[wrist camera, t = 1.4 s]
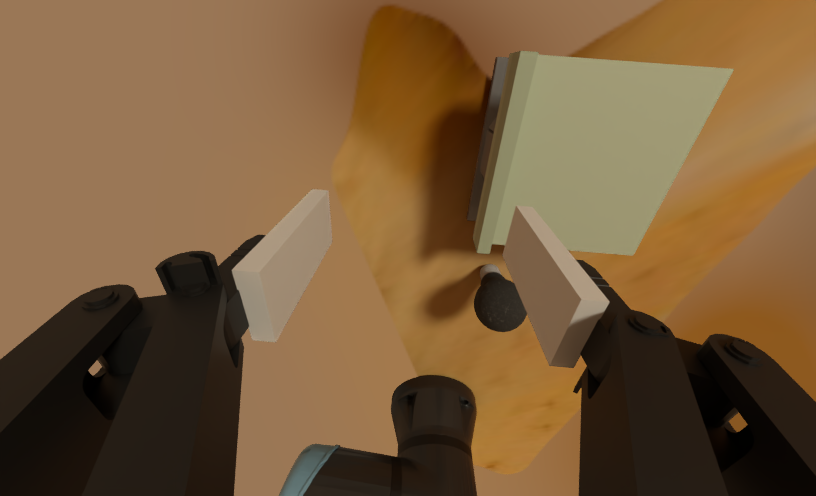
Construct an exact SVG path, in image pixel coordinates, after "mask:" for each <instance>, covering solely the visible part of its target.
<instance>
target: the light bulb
mask: <svg viewBox="0 0 816 496" xmlns="http://www.w3.org/2000/svg"><path fill="white" fill-rule="evenodd" d="M480 277H481V286H480V287H479V289H478V290H477V292H476V295H475V299H474V309H475V312H476V315H477V317H478V319H479V320H480V321H481V322H482V324H483V325H485V326H486V327H487V328H489V329H491V330H494V331H498V332H506V331H511V330H513V329H515V328H517V327H518V326H519V325H520V324H521V323H522V322H523V321H524V319H525V317H526V315H527V312H526V310H525V307H524V305H523V303H522V300H521V298H520V296H519V293H518V291H517V289H516V286H515V284H514V283H513V282H511V281H509V280H506V279H505V278H504V277H503V276H502V275H501V273H500V271H499V269H498V267H497V266H495V265H493V264H488V265H485V266H483V267H482V268H481V270H480Z"/></svg>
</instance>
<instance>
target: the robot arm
mask: <svg viewBox="0 0 816 496" xmlns="http://www.w3.org/2000/svg"><path fill="white" fill-rule="evenodd" d="M331 243H332V230H331V218H330V204H329V191H328V190H316V189H312V190H311V191H310V192H309V193H308V194H307V195H306V196H305V197H304V198H303V199H302V200H301V201H300V202H299V203H298V204H297V205H296V206H295V207H294V208H293V209H292V210H291V211H290V212H289V213H288V214H287V215H286V216H285V217H284V218H283V219H282V220H281V221H280V222H279V223H278V224H277V225H276V226H275V227H274V228H273V229H272V230H271V231H270V232H269V233H268V234H267V235H257V236H255V237H253V238H251V239H249V240H247V241H245V242H244V243H243V244H242V245H241V246H240V247H239V248H238V250H235V251H234V252H233V253H232V254H231V256H229V257H228V258H227V259H226V260H225V261H223V262H222V263H221V264H220V265H219V266H218V265H217V262H216V259H215V256H214V255H213V254H211V253H210V252H205V251H191V252H185V253H181V254H177V255H175V256H172V257H170V258H168V259H166V260H164V261H162V262H161V263H160V264H159V265H158V266H157V267H156V268H155V269H156V271H157V274H158V276H159V278H160V280H161V282H162V285H163V287H164V289H165V291H166V293H167V294H166V295H161V296H153V297H145V298H139V297H138V295H137V294H136V292H135V290H134V288H132V287H131V286H128V285H120V284H119V285H111V286H104V287H101V288H96V289H94V290H91V291H90V292H87V293H85V294H83V295H81V296H79V297H78V298H76V299H75V300H73V301H71V302H70V303H69V304H68V305H66V306H65V307H64V308H63V309H62V310H61V311H59V312H58V313H57V314H55V315H54V316H53V317H52V318H51V319H49V320H48V321H47V322H46V323H44V324H43V325H42V326H41V327H40V328H38V329H37V330H36V331H35V332H34V333H32V334H31V335H30V336H29V337H27V338H26V339H25V340H24V341H23V342H21V343H20V344H19V345H18V346H16V347H15V348H14V349H13V350H12V351H10V352H9V353H8V354H7V355H6V356H4V357H3V358H2V359H1V360H0V496H234V483H235V467H236V453H237V439H238V424H239V409H240V394H241V381H242V366H243V352H244V346H243V343H242V339H241V337H242V335H243V334H244V333H245V331H246V330H247V329H248V327H249V330H250V334H251V337H252V340H257V341H268V342H276V341H277V339H278V337H279V336H280V334H281V332H282V330H283V328H284V327H285V325H286V323H287V321H288V320H289V318H290V316H291V314H292V313H293V311H294V309H295V307H296V305H297V304H298V301H299V300H300V298H301V296H302V295H303V293H304V291H305V289H306V288H307V286H308V284H309V282H310V281H311V279H312V277H313V275H314V273H315V272H316V270H317V268H318V266H319V264H320V263H321V261H322V259H323V257H324V256H325V254H326V252H327V250H328V248H329V247H330V245H331ZM502 256H503V258H504V260H505V263H506V265H507V267H508V270H509V272H510V274H511V277H512V279H513V281H514V284H515V286H516V289H517V291H518V293H519V296H520V298H521V300H522V303H523V305H524V307H525V310H526V312H527V314H528V317H529V319H530V321H531V324H532V326H533V328H534V331H535V333H536V335H537V338H538V340H539V342H540V345H541V347H542V349H543V352H544V354H545V356H546V359H547V361H548V364H549V366H557V367H568V368H574V366H575V364H576V363H577V361H578V359H579V357H580V355H581V356H582V358H583V360H584V361H585V363H586V365H587V367H586V369H585V371H584V372H583V374H582V376H581V377H580V379H579V381H578V383H577V384H576V386H575V388H574V391H573V392H575V393H578V391H579V390H580V388H582V398H581V435H580V473H579V496H816V402H815V401H814V400H813V399H812V398H811V397H810V396H809V395H808V394H807V393H806V392H805V391H804V390H803V389H802V388H801V387H800V386H799V385H798V384H797V383H796V382H795V381H794V380H793V379H792V378H791V377H790V376H789V375H788V374H787V373H786V372H785V371H784V370H783V369H782V368H781V366H779V364H778V363H777V362H775V361H774V360H773V359H772V358H771V357H770V356H768V355H767V354H766V353H765V352H763V351H762V350H760V349H758V348H757V347H755V346H754V345H753V344H751V343H749V342H747V341H746V342H745V341H744V340H742V339H739V338H735V337H732V336H728V335H724V334H714V335H710V336H709V337H708V339H707V340H706V341H705V342H704V343H703V345H700V344H696V343H693V342H689V341H686V340H682V339H679V338H675V336H674V335H673V333H672V332H671V330H670V329H669V328H668V327H667V326H666V325H664V324H663V323H662V322H661V321H659V320H657V319H656V318H654V317H652V316H650V315H647V314H645V313H643V312H639V311H635V310H631V309H630V308H629V307H628V306H627V305H626V304H625V302H624V301H623V300H622V299H621V298H620V297H619V296H618V294H617V293H616V292H615V291H614V290H613V289H612V288H611V287H609V284H608V283H607V282H606V281H605V280H604V279H603V277H602V276H601V275H600V274H599V273H598V272H597V270H596V269H595V268H593V267H592V266H590V265H589V264H587V263H586V262H584V261H583V260H575V259H574V257H573V256H572V255H571V254H570V252H569V251H568V250H567V249H566V247H565V246H564V245H563V244H562V243H561V241H560V240H559V239H558V238H557V236H556V235H555V234H554V233H553V231H552V230H551V229H550V228H549V227H548V225H547V224H546V223H545V222H544V220H543V219H542V218H541V217H540V215H539V214H538V213H537V212H536V211H535V209H534V208H533V207H528V206H516V207H515V211H514V215H513V218H512V222H511V226H510V229H509V233H508V237H507V240H506V244H505V248H504V251H503V255H502ZM96 360H98V361H99V363H100V364H101V365H102V368H101V369H100V370H99V371H98V373H96V374H95V375H94V376H92V375H91V374H90V373H89V371H88V370H89V368H90V367H91V366H92V365H93V364H94V363H95V362H96ZM476 412H477V411H476V403H475V397H474V395H473V393H472V391H471V390H470V389H469V388H468V387H467V386H466V385H464V384H463V383H461V382H459V381H457V380H455V379H452V378H448V377H443V376H421V377H416V378H413V379H410V380H408V381H406V382H404V383H402V384H401V385H399V386H398V387H397V388H396V390H395V391H394V393H393V396H392V405H391V414H392V418H393V423H394V428H395V432H396V437H397V441H398V456H397V457H394V456H388V455H383V454H377V453H371V452H366V451H360V450H354V449H349V448H343V447H340V445H335V446H330V445H321V444H312V445H310V446H308V447H306V448H305V449H304V450H303V451H302V452H301V454H300V455H299V456H298V458H297V460H296V461H295V463H294V465H293V467H292V468H291V470H290V473H289V474H288V477H287V479H286V481H285V483H284V485H283V487H282V489H281V492H280V494H279V496H477V492H476V484H475V476H474V469H473V461H472V453H471V444H472V438H473V432H474V426H475V420H476ZM738 412H739V413H740V414H741V416H742V417H743V419H744V420H745V421H746V423H747V424H748V425H747V426H746V427H745V428H744V429H742V430H741V431H740V432H736V431H735V430H734V429H733V427H732V426H731V424H730V423H729V422H728V421H729V420H730V419H731V418H733V417H734V416H735V415H736V414H737V413H738Z"/></svg>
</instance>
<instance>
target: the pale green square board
mask: <svg viewBox="0 0 816 496" xmlns="http://www.w3.org/2000/svg"><path fill="white" fill-rule="evenodd" d="M733 70H734V69H726V68H713V67H699V66H685V65H672V64H658V63H644V62H631V61H617V60H603V59H590V58H576V57H562V56H549V55H548V56H547V55H538V52H529V51H519V52H515V53H511V54H510V55H509V60H508V65H507V70H506V75H505V80H504V85H503V90H502V95H501V100H500V105H499V109H498V114H497V119H496V124H495V129H494V134H493V139H492V144H491V149H490V154H489V159H488V164H487V169H486V174H485V179H484V184H483V189H482V194H481V199H480V204H479V209H478V214H477V219H476V223H475V228H474V233H473V241H474V245H475V248H476V251H477V253H483V254H490V250H491V246H492V244H497V245H505V244H506V240H507V237H508V233H509V229H510V226H511V222H512V218H513V215H514V211H515V207H516V206H528V207H533V208H534V209H535V211H536V212H537V213H538V214H539V215H540V217H541V218H542V219H543V220H544V222H545V223H546V224H547V225H548V227H549V228H550V229H551V230H552V231H553V233H554V234H555V235H556V236H557V238H558V239H559V240H560V241H561V243H562V244H563V245H564V246H565V247H566V249H567V250H571V251H583V252H595V253H608V254H620V255H632V256H633V255H634V253H635V251H636V249H637V248H638V246H639V244H640V242H641V240H642V238H643V237H644V235H645V233H646V231H647V229H648V227H649V225H650V224H651V222H652V220H653V218H654V216H655V214H656V212H657V211H658V209H659V207H660V205H661V203H662V201H663V200H664V198H665V196H666V194H667V192H668V190H669V188H670V187H671V185H672V183H673V181H674V179H675V177H676V176H677V174H678V172H679V170H680V168H681V166H682V164H683V163H684V161H685V159H686V157H687V155H688V153H689V152H690V150H691V148H692V146H693V144H694V142H695V140H696V139H697V137H698V135H699V133H700V131H701V129H702V128H703V126H704V124H705V122H706V120H707V118H708V116H709V115H710V113H711V111H712V109H713V107H714V105H715V104H716V102H717V100H718V98H719V96H720V94H721V92H722V91H723V89H724V87H725V85H726V83H727V81H728V79H729V78H730V76H731V74H732V72H733Z"/></svg>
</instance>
